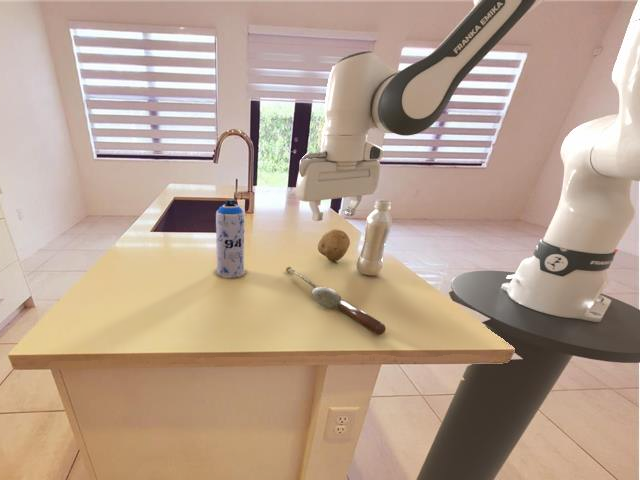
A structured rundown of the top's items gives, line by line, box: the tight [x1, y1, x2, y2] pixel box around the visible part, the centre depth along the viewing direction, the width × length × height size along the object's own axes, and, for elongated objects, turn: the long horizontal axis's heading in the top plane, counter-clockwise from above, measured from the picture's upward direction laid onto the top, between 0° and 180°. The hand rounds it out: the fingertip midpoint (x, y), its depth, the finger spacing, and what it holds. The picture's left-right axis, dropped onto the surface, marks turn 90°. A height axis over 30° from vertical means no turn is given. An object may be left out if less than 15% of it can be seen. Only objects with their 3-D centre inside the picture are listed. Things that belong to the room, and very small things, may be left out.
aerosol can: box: [215, 199, 246, 279], centre depth 84 cm, size 8×8×20 cm
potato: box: [317, 228, 351, 263], centre depth 95 cm, size 9×9×10 cm
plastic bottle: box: [356, 199, 393, 276], centre depth 84 cm, size 6×7×20 cm
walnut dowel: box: [337, 299, 387, 335], centre depth 66 cm, size 2×12×2 cm, turn 26°
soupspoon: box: [285, 266, 343, 310], centre depth 79 cm, size 22×3×7 cm
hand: (333, 218), depth 71 cm, fingers open, 8 cm apart
